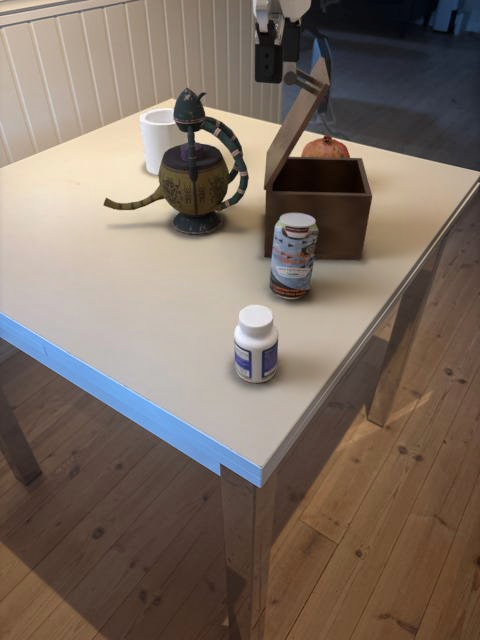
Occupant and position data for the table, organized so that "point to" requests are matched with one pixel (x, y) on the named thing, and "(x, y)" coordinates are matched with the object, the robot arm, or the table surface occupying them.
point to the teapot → (196, 172)
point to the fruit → (325, 148)
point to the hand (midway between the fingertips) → (278, 71)
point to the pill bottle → (256, 344)
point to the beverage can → (293, 255)
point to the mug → (159, 136)
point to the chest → (323, 203)
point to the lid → (296, 115)
